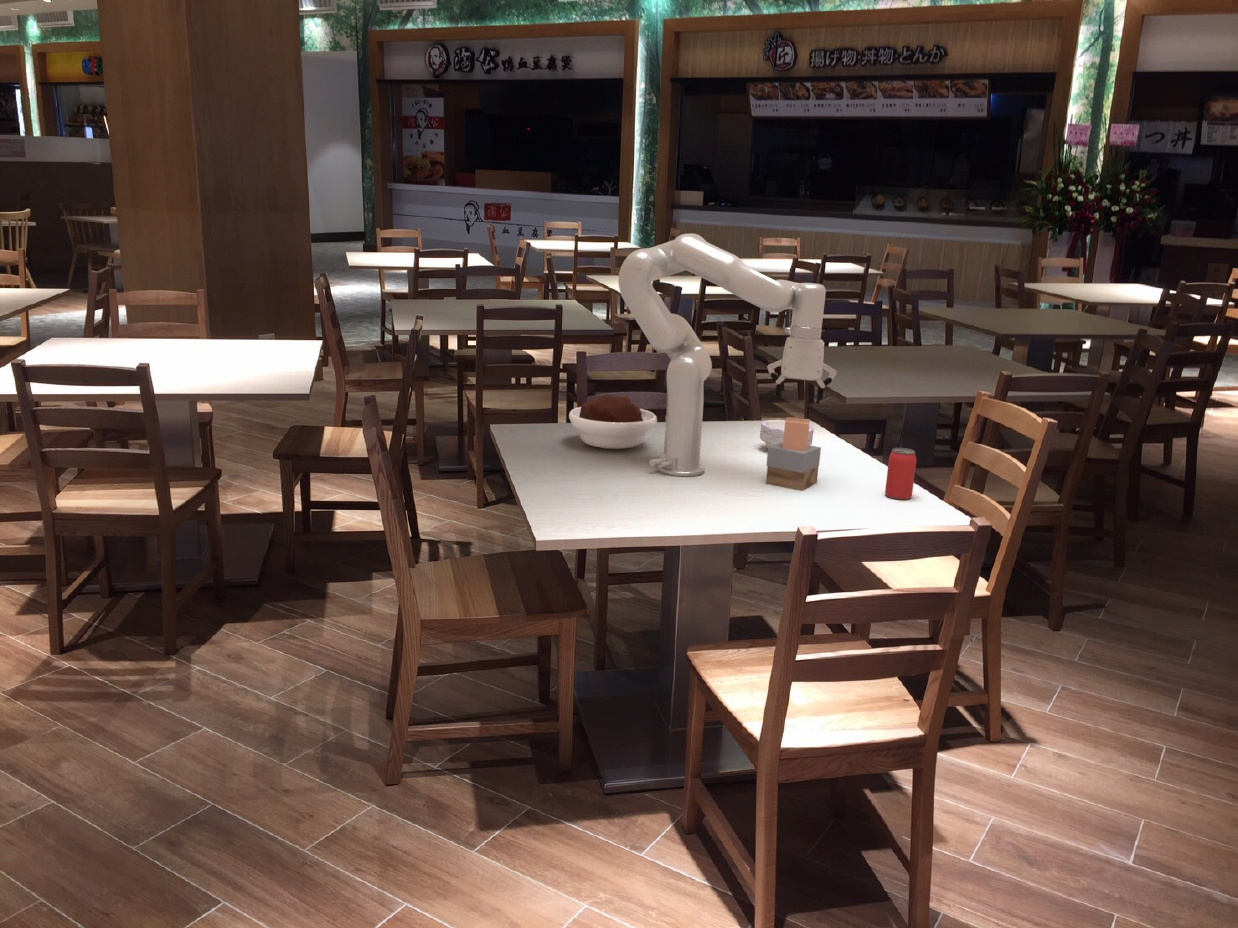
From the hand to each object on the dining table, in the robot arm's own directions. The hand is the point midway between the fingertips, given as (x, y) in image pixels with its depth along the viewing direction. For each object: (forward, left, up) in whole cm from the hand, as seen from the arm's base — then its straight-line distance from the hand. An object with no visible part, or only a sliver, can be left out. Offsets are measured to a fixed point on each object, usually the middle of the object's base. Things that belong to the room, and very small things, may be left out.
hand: (798, 401), depth 259 cm
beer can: (+15, -22, -22) cm, 35 cm away
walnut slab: (0, 0, -22) cm, 22 cm away
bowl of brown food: (-16, +55, -22) cm, 61 cm away
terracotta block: (0, 0, -12) cm, 12 cm away
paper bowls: (+26, +26, -22) cm, 43 cm away
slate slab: (0, 0, -17) cm, 17 cm away
